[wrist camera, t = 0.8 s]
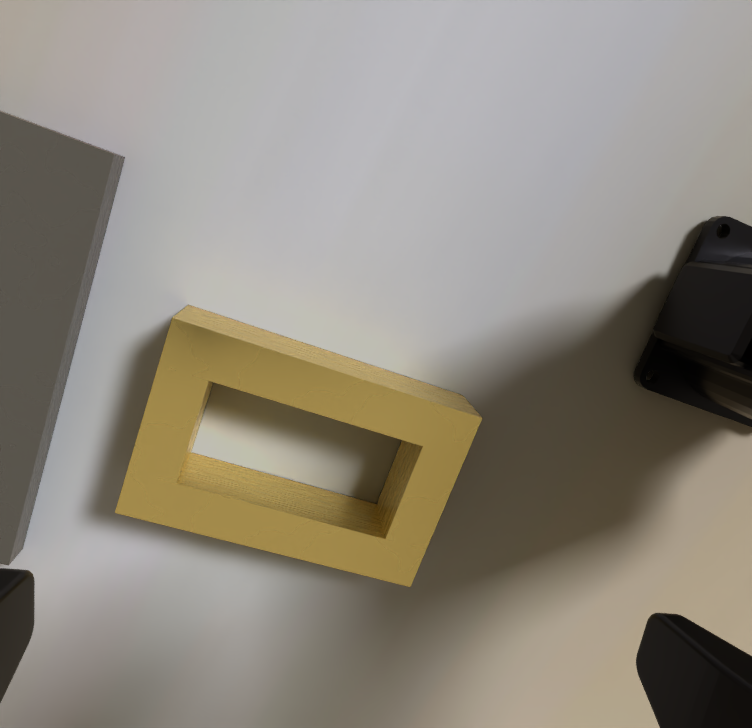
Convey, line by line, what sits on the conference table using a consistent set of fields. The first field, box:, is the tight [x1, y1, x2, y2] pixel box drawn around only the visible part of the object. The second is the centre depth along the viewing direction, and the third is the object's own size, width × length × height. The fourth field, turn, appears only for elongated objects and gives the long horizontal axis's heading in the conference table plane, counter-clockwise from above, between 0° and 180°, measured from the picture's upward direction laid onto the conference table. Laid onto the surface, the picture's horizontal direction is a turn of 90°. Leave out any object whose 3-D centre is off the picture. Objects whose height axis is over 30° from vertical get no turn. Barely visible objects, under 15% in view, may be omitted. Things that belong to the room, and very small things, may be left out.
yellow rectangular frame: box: [115, 305, 482, 587], centre depth 19 cm, size 10×6×2 cm, turn 70°
